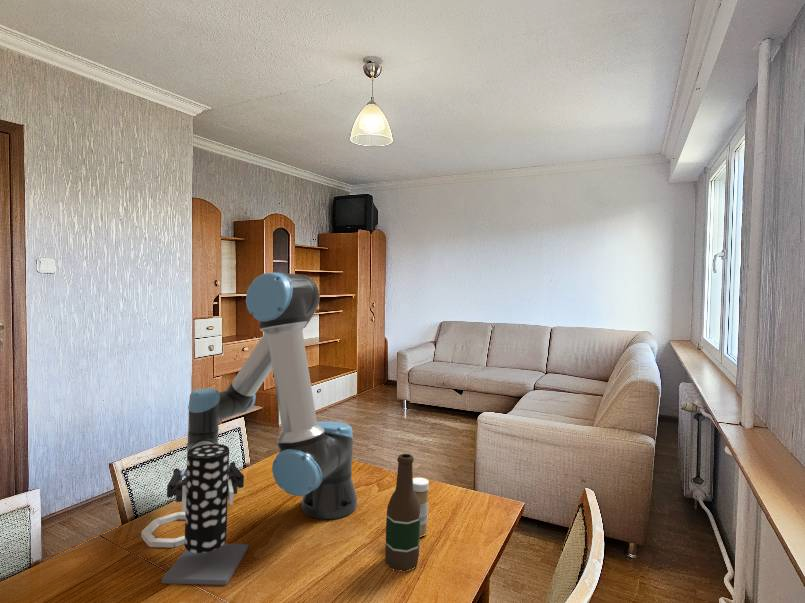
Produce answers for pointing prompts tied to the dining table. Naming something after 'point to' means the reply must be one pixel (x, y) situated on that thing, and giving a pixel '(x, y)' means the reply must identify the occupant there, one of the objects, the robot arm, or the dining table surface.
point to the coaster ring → (162, 542)
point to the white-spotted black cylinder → (206, 497)
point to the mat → (206, 566)
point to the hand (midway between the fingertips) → (208, 501)
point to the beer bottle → (403, 520)
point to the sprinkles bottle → (422, 501)
